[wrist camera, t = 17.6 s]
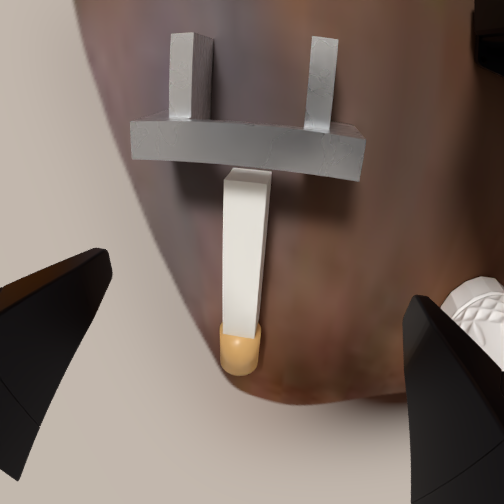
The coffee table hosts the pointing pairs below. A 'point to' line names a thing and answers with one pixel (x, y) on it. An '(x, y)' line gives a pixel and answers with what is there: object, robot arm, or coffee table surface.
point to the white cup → (480, 314)
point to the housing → (247, 133)
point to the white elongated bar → (243, 267)
